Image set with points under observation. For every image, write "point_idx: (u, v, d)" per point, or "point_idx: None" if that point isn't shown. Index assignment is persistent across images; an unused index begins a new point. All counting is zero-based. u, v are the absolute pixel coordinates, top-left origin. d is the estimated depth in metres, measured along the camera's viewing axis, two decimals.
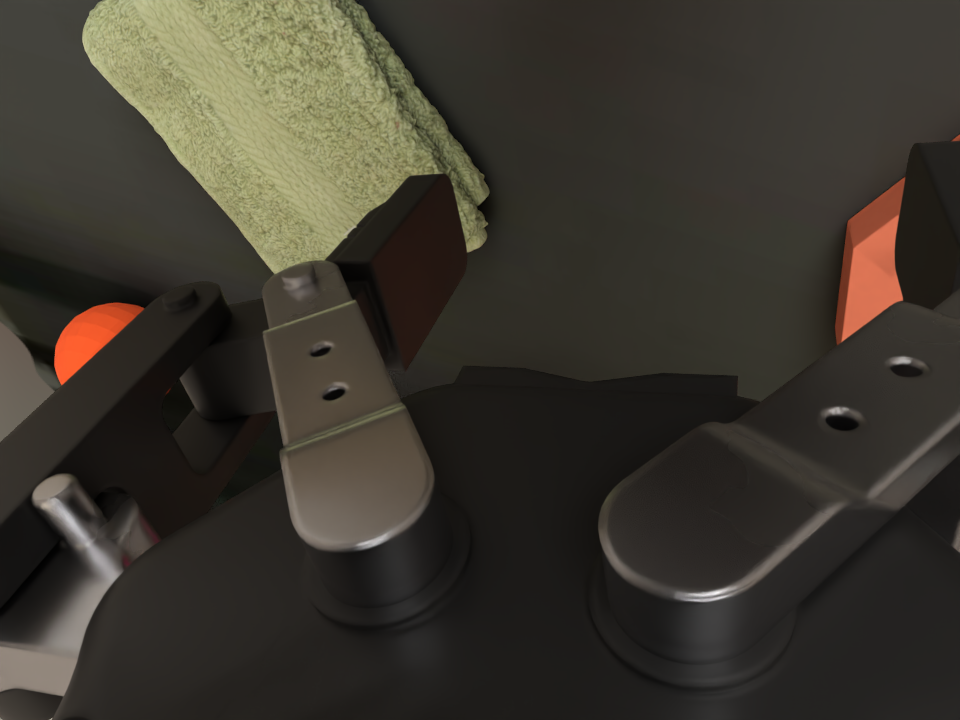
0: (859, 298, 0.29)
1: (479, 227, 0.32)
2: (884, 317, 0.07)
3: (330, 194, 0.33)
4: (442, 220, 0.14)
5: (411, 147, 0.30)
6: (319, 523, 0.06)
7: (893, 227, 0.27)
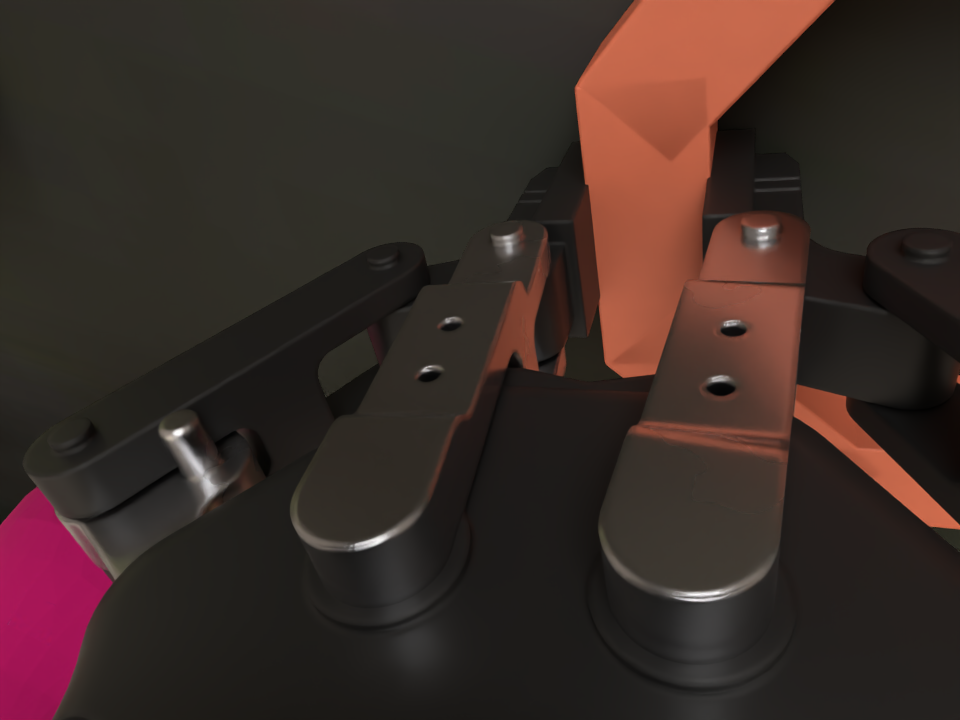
0: (614, 219, 0.12)
1: None
2: (682, 296, 0.08)
3: None
4: None
5: None
6: (319, 523, 0.06)
7: (654, 15, 0.10)
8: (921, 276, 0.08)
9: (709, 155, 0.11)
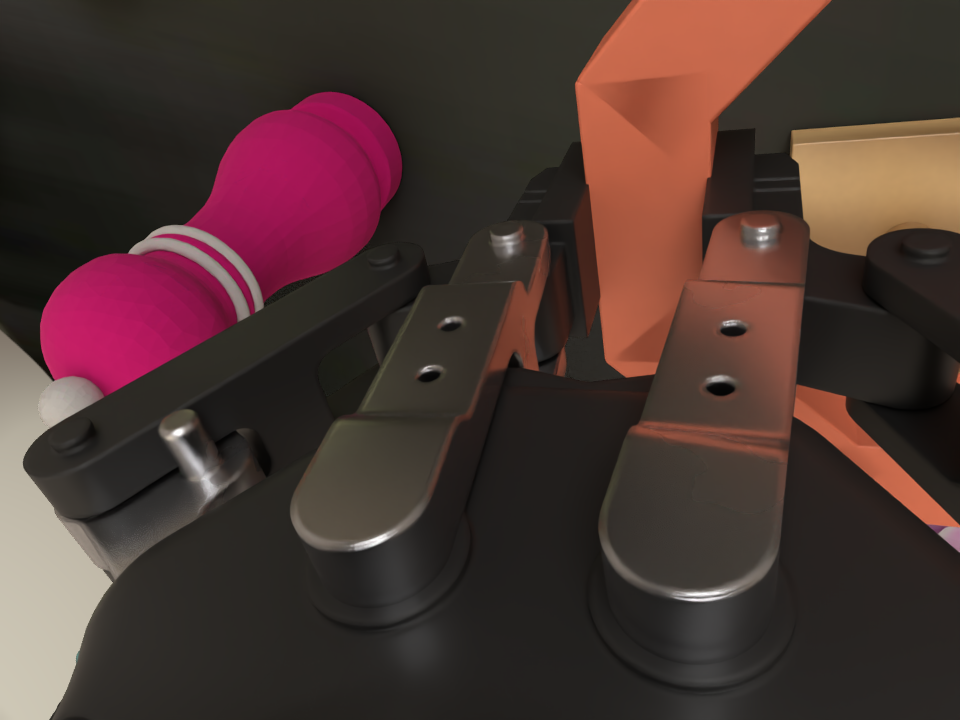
0: (615, 216, 0.12)
1: None
2: (682, 296, 0.08)
3: None
4: None
5: None
6: (319, 523, 0.06)
7: (655, 11, 0.10)
8: (921, 276, 0.08)
9: (710, 151, 0.11)
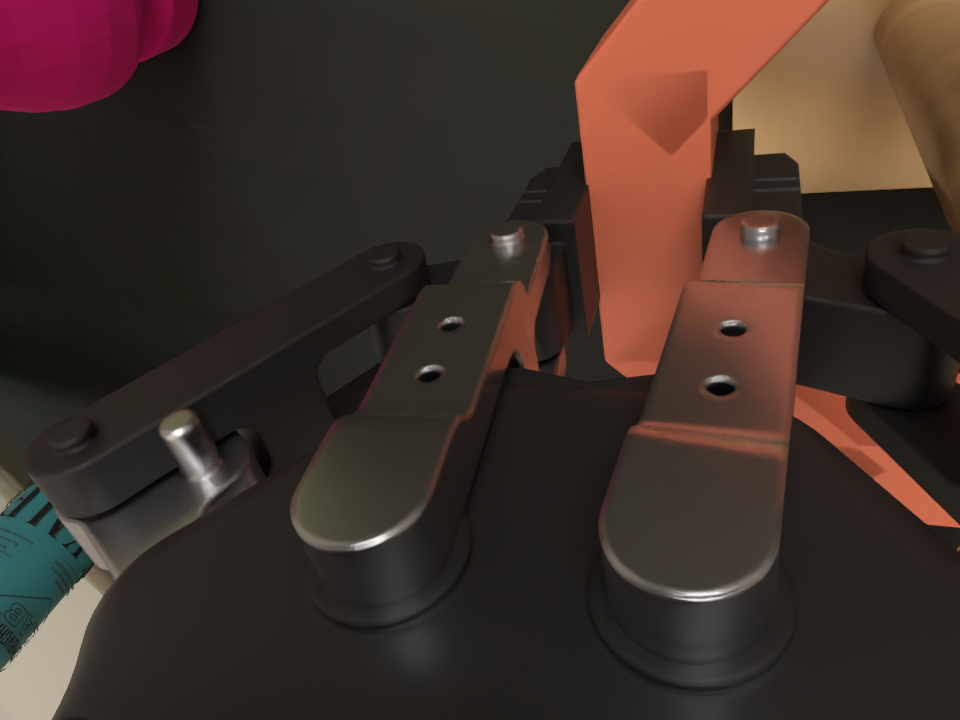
0: (615, 215, 0.12)
1: None
2: (682, 295, 0.08)
3: None
4: None
5: None
6: (319, 523, 0.06)
7: (654, 8, 0.10)
8: (921, 276, 0.08)
9: (710, 149, 0.11)
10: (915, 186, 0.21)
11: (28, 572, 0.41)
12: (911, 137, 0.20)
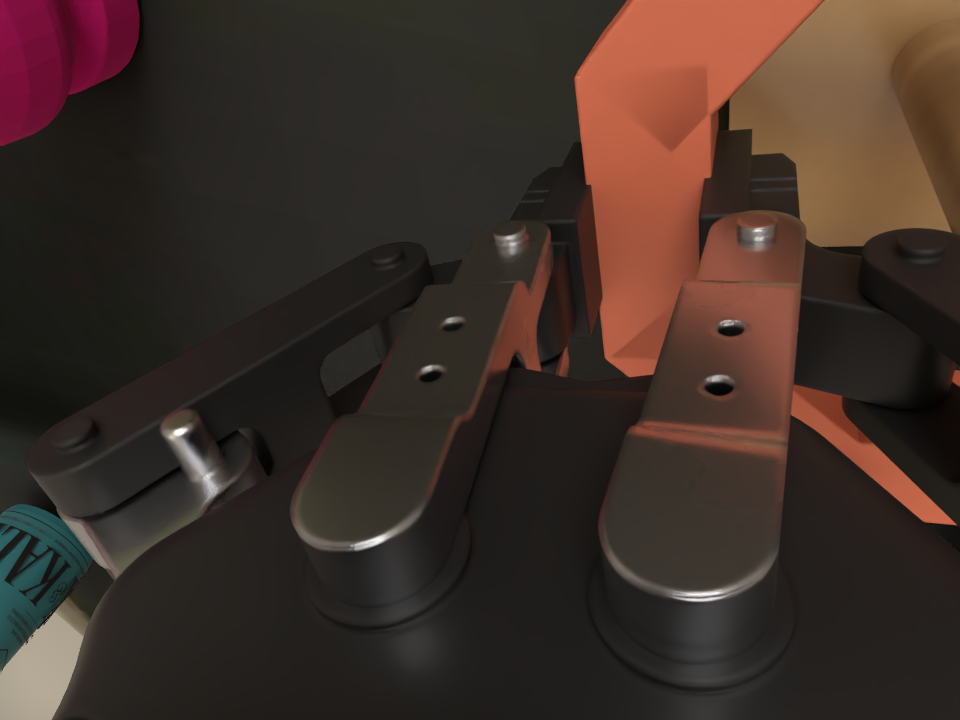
0: (615, 212, 0.12)
1: None
2: (680, 296, 0.08)
3: None
4: None
5: None
6: (319, 523, 0.06)
7: (654, 4, 0.10)
8: (916, 275, 0.08)
9: (710, 145, 0.11)
10: None
11: None
12: (932, 189, 0.18)
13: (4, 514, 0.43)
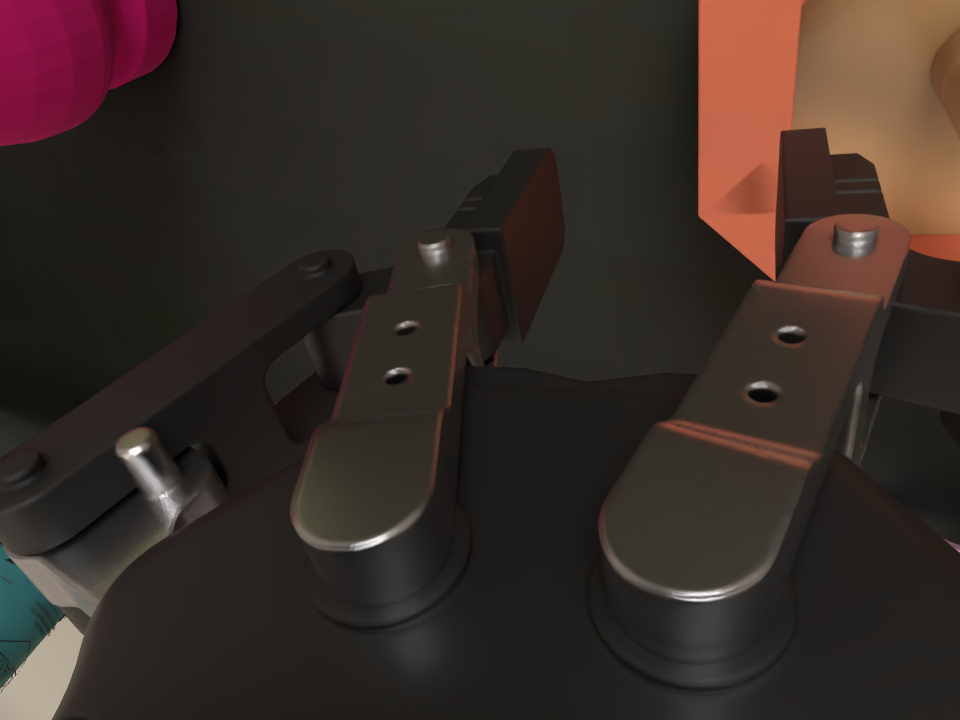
0: (719, 86, 0.16)
1: None
2: (749, 296, 0.08)
3: None
4: (548, 195, 0.14)
5: None
6: (319, 523, 0.06)
7: None
8: None
9: (799, 29, 0.15)
10: None
11: (6, 614, 0.39)
12: None
13: None
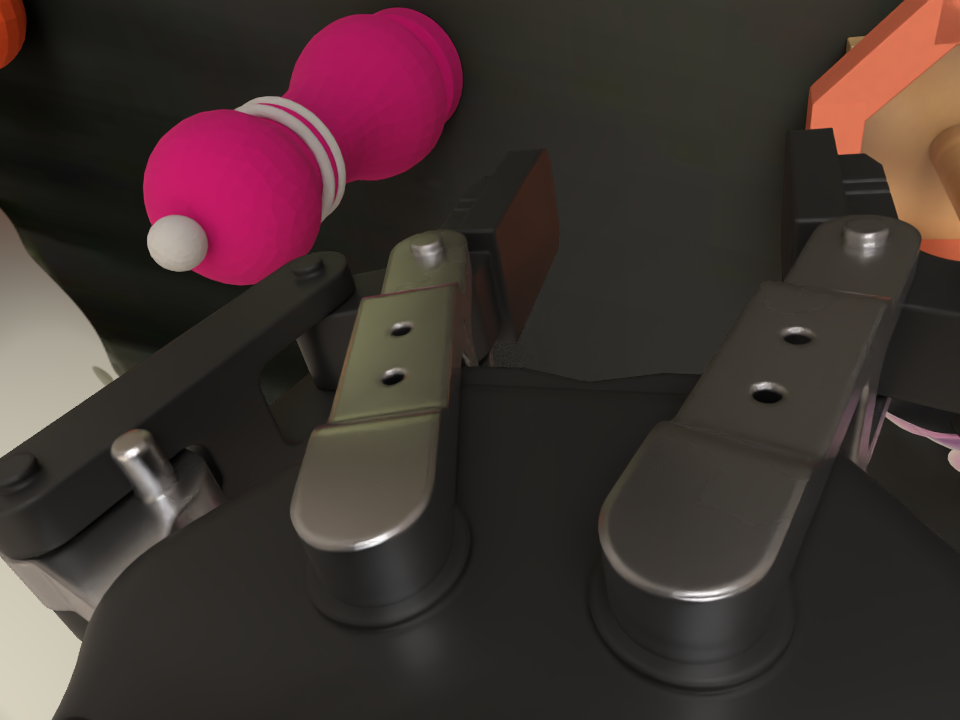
0: None
1: None
2: (755, 297, 0.08)
3: None
4: (543, 196, 0.14)
5: None
6: (319, 523, 0.06)
7: (850, 79, 0.28)
8: None
9: (863, 132, 0.29)
10: None
11: None
12: (949, 211, 0.32)
13: None
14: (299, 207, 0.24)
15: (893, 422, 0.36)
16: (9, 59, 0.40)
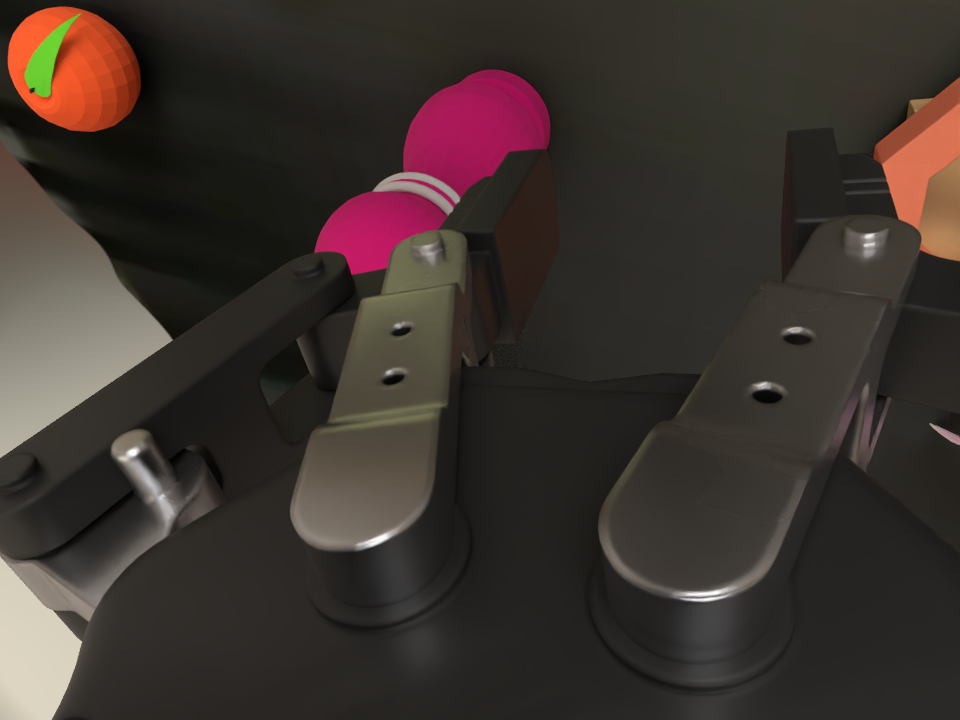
0: None
1: None
2: (756, 296, 0.08)
3: None
4: (542, 195, 0.14)
5: None
6: (319, 523, 0.06)
7: (916, 144, 0.31)
8: None
9: (926, 188, 0.32)
10: None
11: None
12: None
13: None
14: None
15: (944, 436, 0.40)
16: (126, 114, 0.44)
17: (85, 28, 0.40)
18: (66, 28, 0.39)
